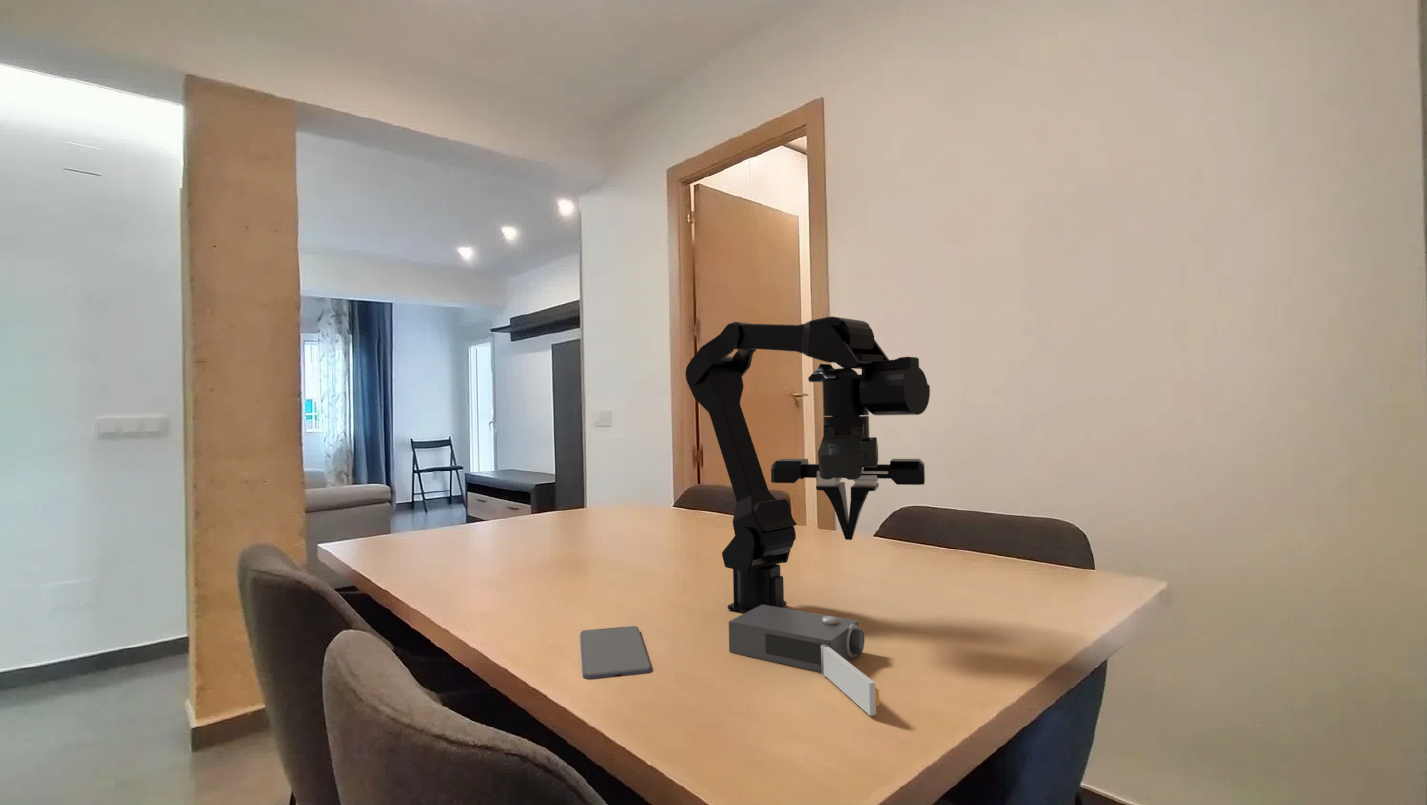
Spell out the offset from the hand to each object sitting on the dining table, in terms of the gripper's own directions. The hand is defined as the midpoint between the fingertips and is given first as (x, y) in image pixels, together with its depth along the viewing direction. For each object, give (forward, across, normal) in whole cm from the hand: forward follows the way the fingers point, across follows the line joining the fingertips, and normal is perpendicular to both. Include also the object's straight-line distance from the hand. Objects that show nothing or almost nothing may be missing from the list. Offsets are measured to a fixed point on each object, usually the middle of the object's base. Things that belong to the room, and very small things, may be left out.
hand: (848, 539), depth 82 cm
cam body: (+12, -6, -8) cm, 15 cm away
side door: (+12, +2, -18) cm, 21 cm away
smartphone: (+13, -26, -14) cm, 32 cm away
